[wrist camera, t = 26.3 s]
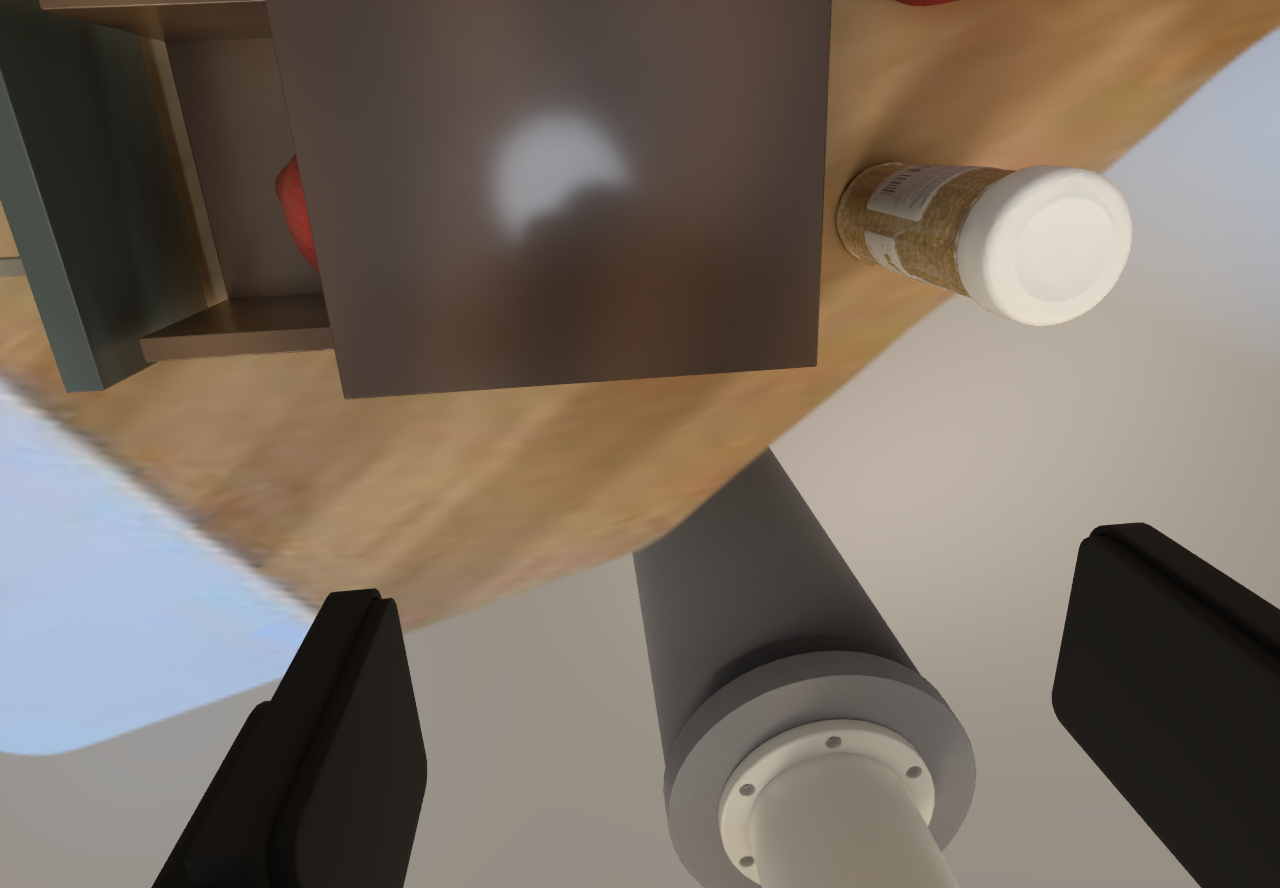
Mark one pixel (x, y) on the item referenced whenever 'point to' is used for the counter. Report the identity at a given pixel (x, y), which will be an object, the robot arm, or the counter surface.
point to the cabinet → (559, 185)
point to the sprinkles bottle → (993, 234)
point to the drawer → (148, 185)
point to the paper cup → (924, 2)
